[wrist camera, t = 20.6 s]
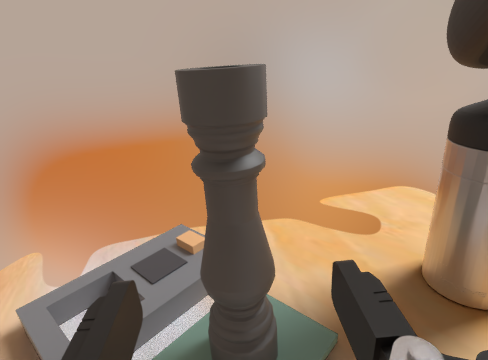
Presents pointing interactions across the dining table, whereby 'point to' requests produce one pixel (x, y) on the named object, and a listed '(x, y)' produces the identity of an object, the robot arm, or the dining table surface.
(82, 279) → the grey compartment tray
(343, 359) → the dining table surface
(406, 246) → the dining table surface
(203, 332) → the mat
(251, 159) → the candle holder
